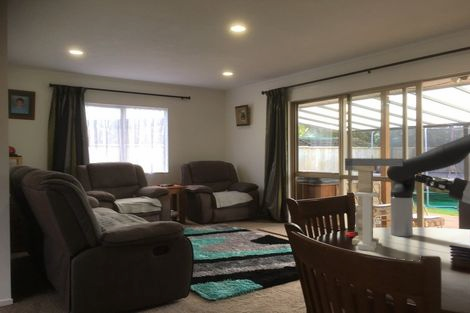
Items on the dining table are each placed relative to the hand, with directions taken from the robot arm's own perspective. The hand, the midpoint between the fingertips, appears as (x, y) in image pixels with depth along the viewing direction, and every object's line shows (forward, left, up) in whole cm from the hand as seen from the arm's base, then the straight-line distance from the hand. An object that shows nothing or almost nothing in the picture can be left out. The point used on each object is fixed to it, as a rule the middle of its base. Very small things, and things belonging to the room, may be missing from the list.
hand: (418, 177), depth 139 cm
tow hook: (-18, -27, -28) cm, 43 cm away
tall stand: (-4, -20, -28) cm, 34 cm away
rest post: (+4, -18, -28) cm, 33 cm away
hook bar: (-4, -17, +4) cm, 18 cm away
